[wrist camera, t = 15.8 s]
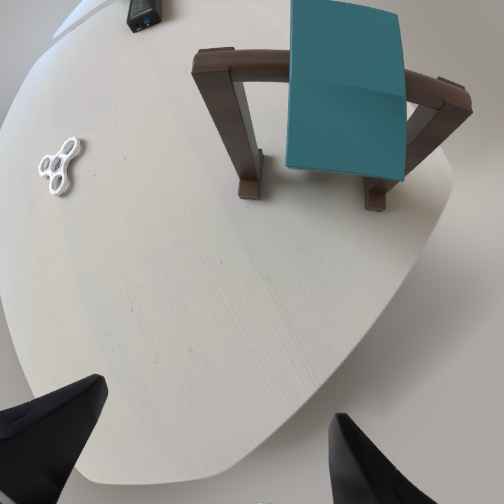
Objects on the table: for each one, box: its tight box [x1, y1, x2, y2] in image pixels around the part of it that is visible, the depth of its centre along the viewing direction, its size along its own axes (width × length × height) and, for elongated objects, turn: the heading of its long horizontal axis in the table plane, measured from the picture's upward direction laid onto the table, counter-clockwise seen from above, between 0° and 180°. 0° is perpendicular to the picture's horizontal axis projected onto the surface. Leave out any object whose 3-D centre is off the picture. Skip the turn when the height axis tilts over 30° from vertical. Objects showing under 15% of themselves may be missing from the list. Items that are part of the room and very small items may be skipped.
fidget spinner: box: [39, 137, 80, 196], centre depth 24 cm, size 7×6×1 cm
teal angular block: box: [285, 0, 407, 181], centre depth 13 cm, size 7×4×13 cm, turn 174°
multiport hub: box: [127, 0, 161, 33], centre depth 25 cm, size 4×11×2 cm, turn 13°
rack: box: [191, 47, 473, 212], centre depth 14 cm, size 4×12×14 cm, turn 84°
